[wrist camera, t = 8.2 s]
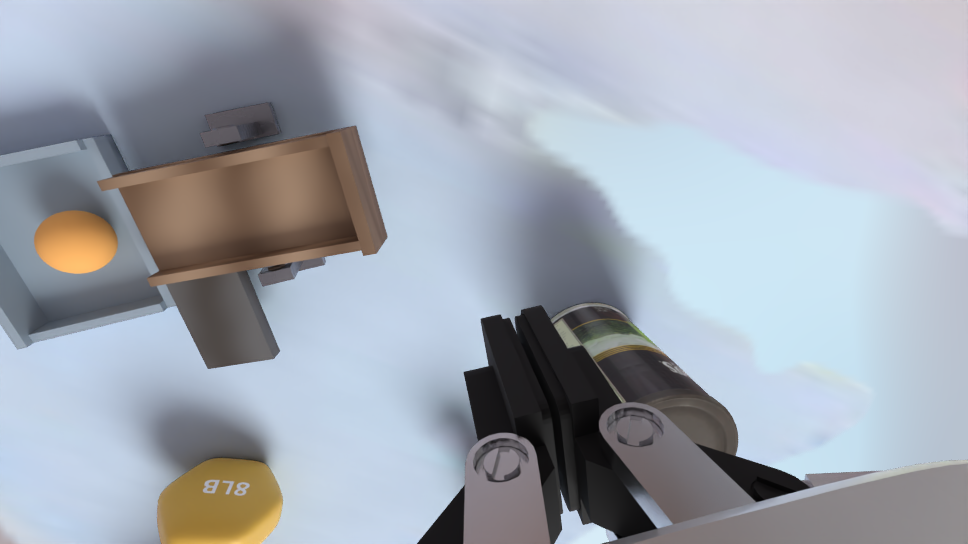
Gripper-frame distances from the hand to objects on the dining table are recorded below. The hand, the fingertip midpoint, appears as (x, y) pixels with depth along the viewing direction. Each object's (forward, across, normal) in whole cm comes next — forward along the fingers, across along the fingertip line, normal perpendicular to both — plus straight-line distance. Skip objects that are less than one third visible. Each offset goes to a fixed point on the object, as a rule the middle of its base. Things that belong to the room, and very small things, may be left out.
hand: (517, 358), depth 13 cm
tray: (+24, +25, -1) cm, 35 cm away
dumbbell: (+23, +25, +28) cm, 44 cm away
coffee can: (+24, -10, +18) cm, 32 cm away
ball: (+21, +24, -1) cm, 32 cm away
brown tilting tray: (+22, +12, +2) cm, 25 cm away
